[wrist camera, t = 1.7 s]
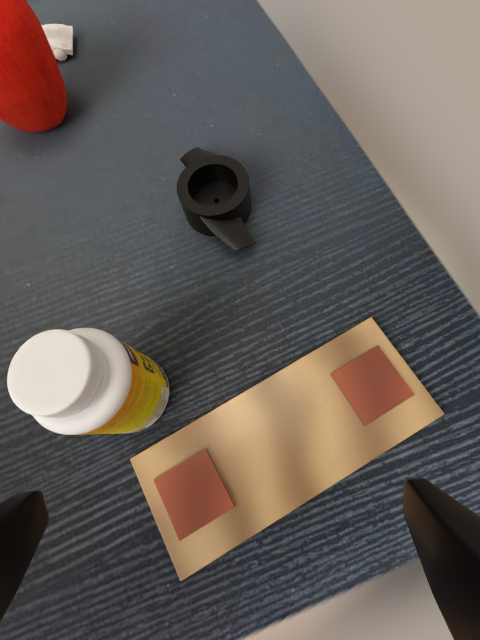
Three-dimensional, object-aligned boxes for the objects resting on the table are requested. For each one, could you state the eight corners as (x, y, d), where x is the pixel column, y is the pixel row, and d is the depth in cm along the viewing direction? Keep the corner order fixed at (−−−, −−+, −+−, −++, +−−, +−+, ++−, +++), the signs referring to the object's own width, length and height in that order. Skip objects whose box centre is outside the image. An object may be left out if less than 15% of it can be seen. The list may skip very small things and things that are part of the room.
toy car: (10, 46, 38) (-6, 23, 36) (77, 33, 38) (65, 9, 36) (6, 74, 37) (-10, 53, 35) (76, 61, 37) (64, 38, 34)
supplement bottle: (185, 377, 25) (131, 344, 15) (145, 447, 23) (58, 461, 14) (125, 344, 26) (39, 294, 16) (83, 409, 25) (-37, 397, 15)
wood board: (181, 579, 21) (179, 584, 20) (132, 458, 23) (127, 459, 23) (442, 414, 22) (447, 413, 22) (369, 318, 25) (372, 315, 24)
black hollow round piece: (267, 163, 30) (267, 136, 27) (255, 261, 27) (253, 242, 24) (185, 160, 31) (177, 134, 28) (164, 254, 28) (153, 236, 25)
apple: (19, 169, 32) (-97, 49, 22) (-6, 114, 35) (-120, -16, 25) (100, 128, 33) (25, -6, 23) (70, 77, 36) (-10, -63, 26)
